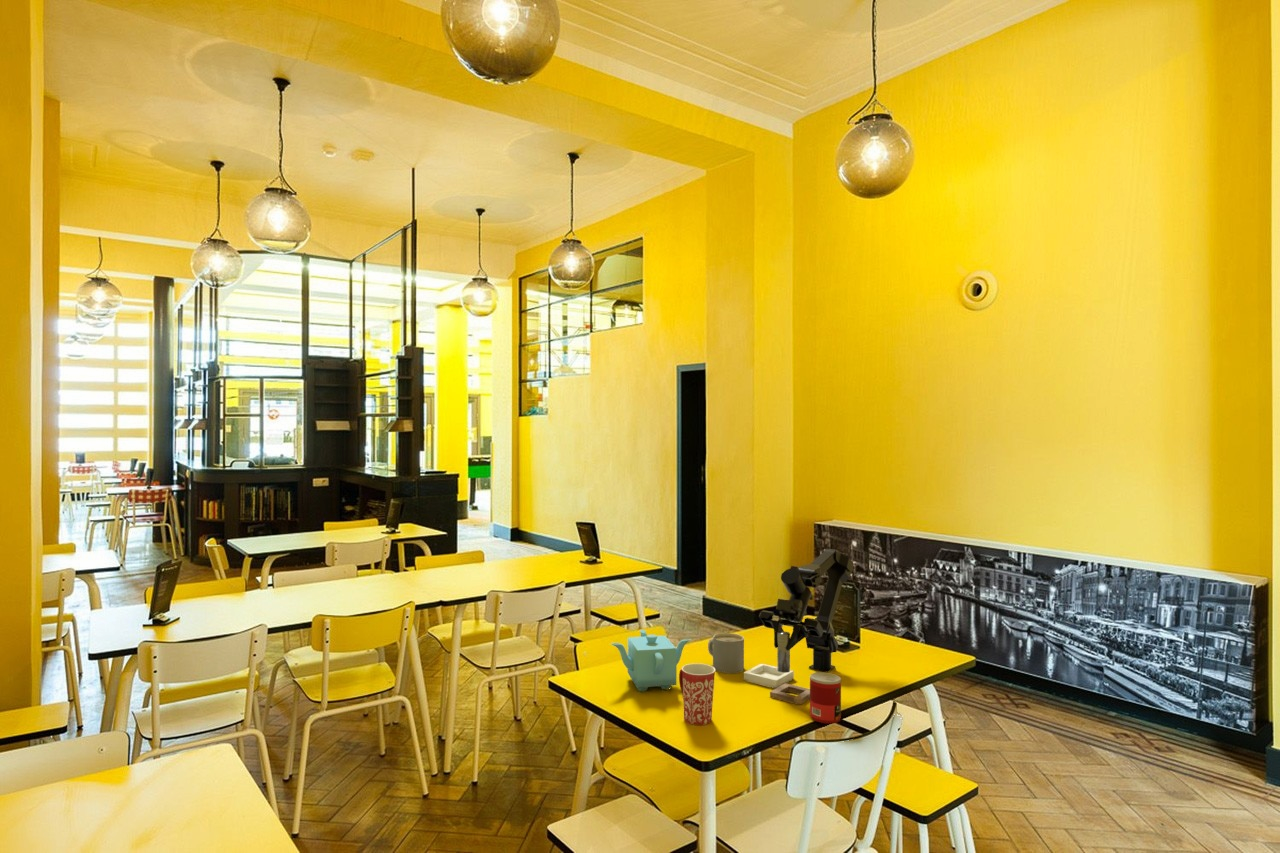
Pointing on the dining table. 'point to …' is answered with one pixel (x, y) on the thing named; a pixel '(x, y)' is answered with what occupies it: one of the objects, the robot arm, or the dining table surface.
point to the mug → (697, 692)
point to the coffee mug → (727, 652)
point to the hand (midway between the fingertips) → (781, 648)
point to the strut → (783, 652)
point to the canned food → (825, 697)
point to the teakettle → (651, 660)
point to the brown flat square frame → (782, 694)
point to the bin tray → (768, 676)
